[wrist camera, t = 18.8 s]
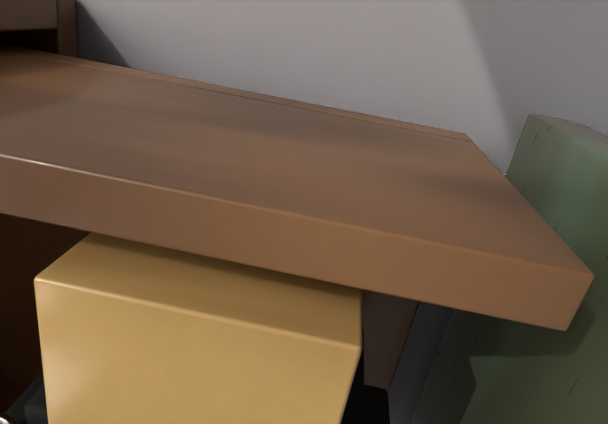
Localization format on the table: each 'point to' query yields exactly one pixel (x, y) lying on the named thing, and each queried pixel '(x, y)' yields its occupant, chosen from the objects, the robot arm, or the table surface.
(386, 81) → the table surface
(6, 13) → the cabinet
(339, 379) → the banded wooden block
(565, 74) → the table surface
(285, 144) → the drawer
